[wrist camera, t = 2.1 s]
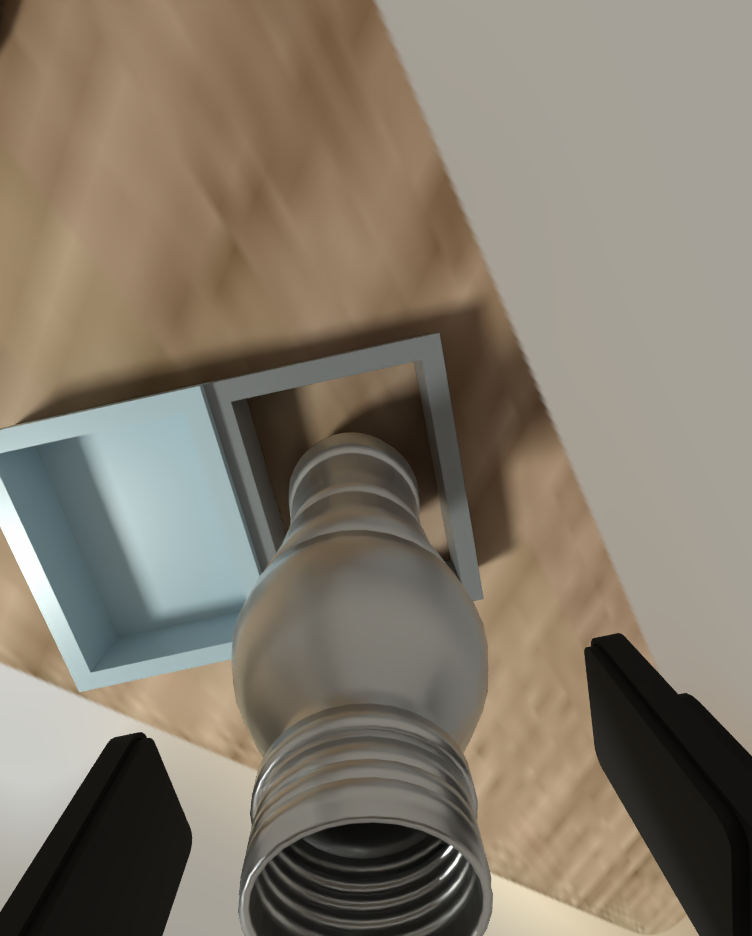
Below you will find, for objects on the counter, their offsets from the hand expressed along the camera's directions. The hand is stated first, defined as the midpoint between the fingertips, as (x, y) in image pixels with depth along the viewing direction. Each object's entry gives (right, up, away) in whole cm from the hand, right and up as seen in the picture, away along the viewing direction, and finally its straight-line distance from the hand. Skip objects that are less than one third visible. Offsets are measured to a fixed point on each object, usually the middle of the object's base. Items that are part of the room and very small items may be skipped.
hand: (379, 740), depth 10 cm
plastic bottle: (-1, +5, +16) cm, 17 cm away
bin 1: (-12, +3, +16) cm, 20 cm away
